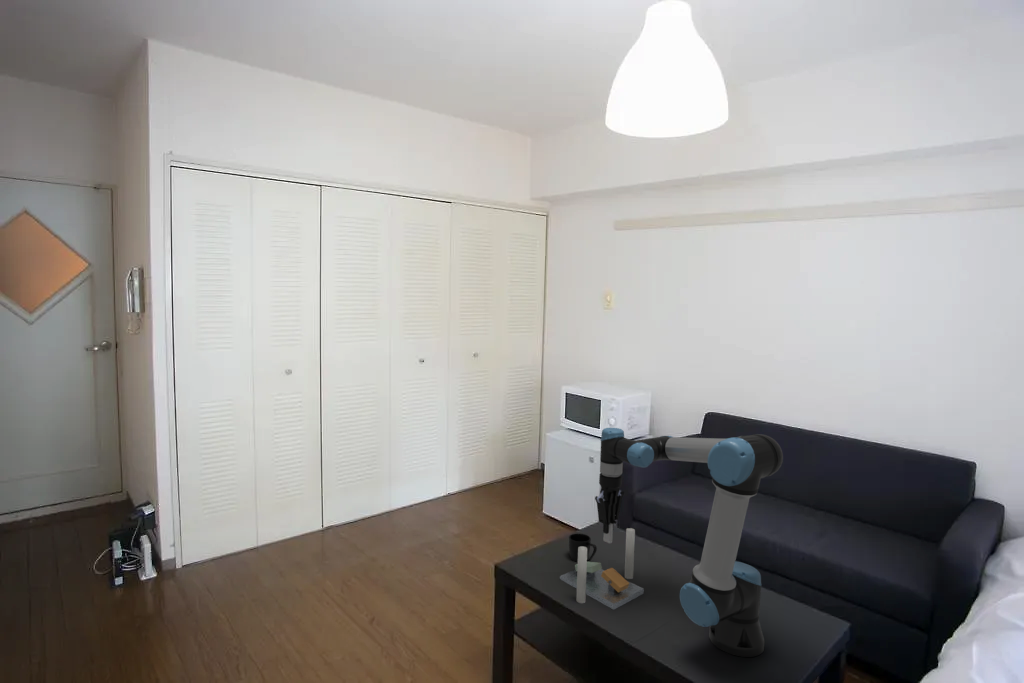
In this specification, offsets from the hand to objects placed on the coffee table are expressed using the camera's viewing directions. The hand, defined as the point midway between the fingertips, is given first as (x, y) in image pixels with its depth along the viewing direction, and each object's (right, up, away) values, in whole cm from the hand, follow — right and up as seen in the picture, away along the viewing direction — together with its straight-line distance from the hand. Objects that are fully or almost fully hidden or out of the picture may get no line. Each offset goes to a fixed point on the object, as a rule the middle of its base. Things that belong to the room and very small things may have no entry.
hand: (607, 541), depth 193 cm
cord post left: (-10, -17, -7) cm, 21 cm away
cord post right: (+9, -17, +10) cm, 21 cm away
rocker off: (+2, -12, -2) cm, 12 cm away
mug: (-6, -16, +21) cm, 27 cm away
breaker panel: (-2, -17, +3) cm, 17 cm away
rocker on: (-6, -11, +7) cm, 14 cm away
